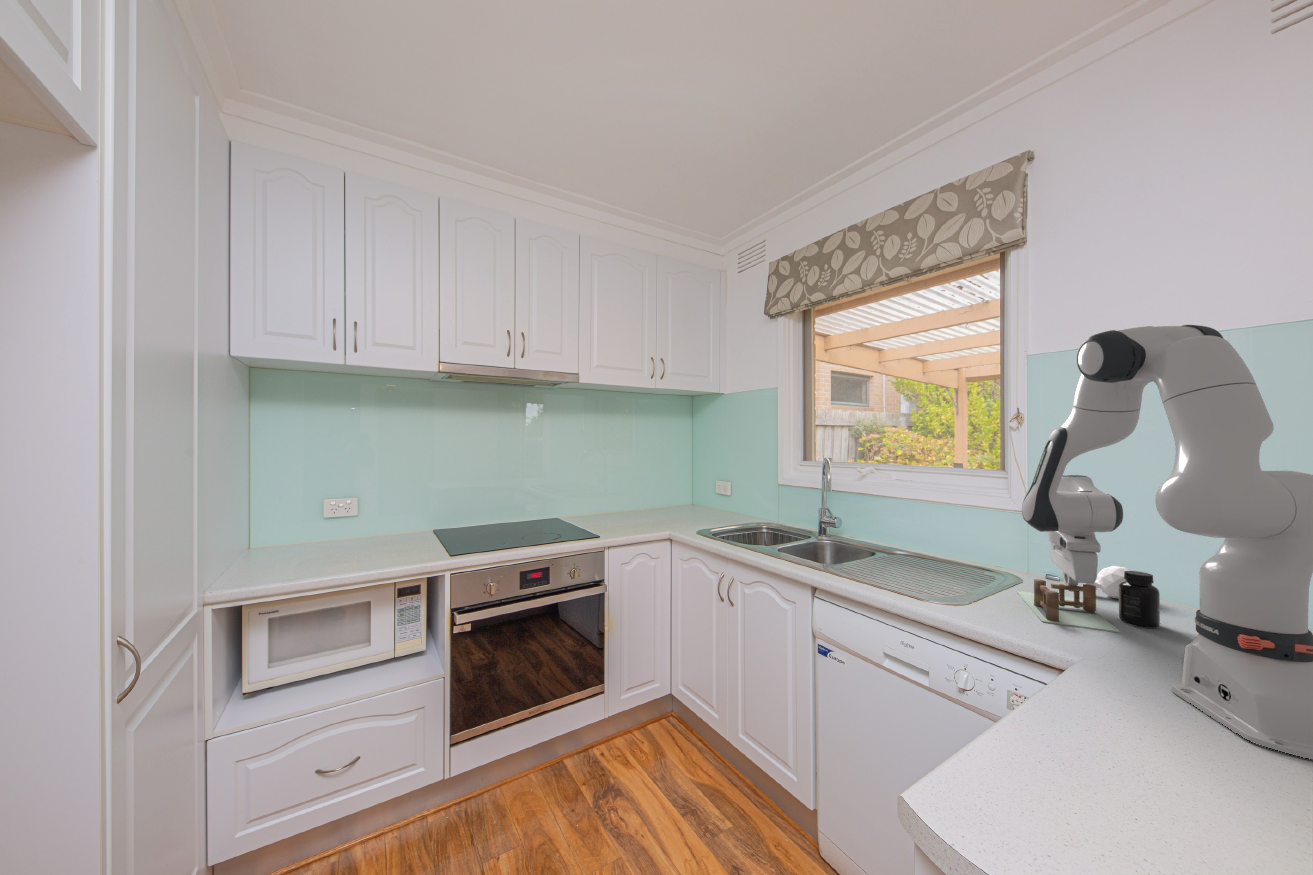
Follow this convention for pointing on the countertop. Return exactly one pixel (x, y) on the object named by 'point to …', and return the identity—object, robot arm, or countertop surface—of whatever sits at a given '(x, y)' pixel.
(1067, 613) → the mat
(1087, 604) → the fence gate
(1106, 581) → the perfume bottle
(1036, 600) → the fence fixed
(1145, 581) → the supplement bottle
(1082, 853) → the countertop surface
